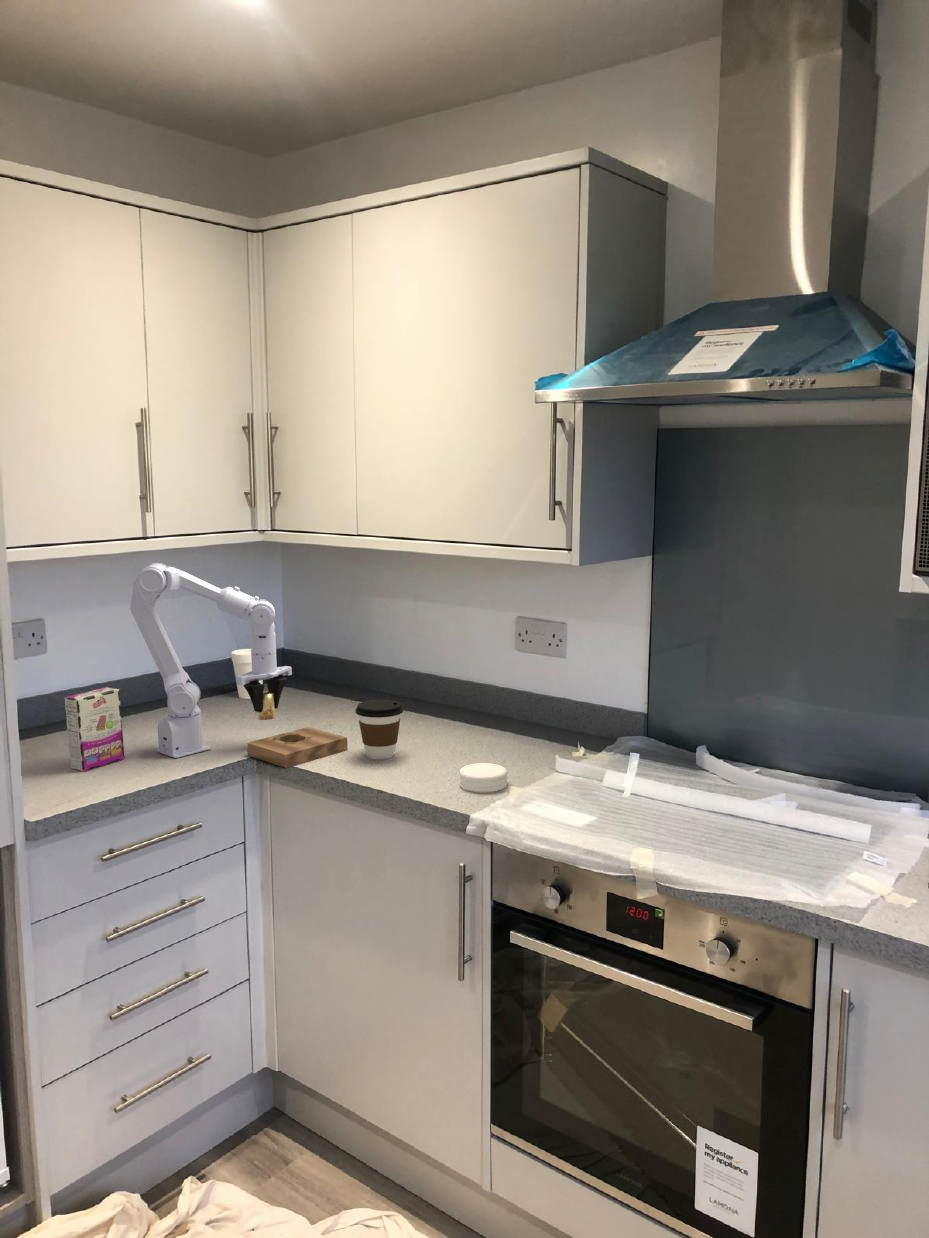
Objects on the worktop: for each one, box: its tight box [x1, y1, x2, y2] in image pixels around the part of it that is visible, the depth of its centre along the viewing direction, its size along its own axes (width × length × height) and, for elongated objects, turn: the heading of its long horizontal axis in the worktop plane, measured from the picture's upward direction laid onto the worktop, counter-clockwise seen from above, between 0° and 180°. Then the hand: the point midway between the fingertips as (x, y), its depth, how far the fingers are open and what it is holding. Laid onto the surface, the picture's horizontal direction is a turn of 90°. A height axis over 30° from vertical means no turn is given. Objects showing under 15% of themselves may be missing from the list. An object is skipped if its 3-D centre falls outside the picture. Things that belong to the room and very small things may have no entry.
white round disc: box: [458, 762, 508, 794], centre depth 202 cm, size 10×10×4 cm
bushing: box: [256, 690, 276, 721], centre depth 228 cm, size 4×4×6 cm
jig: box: [246, 726, 348, 769], centre depth 224 cm, size 18×14×3 cm
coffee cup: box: [354, 699, 404, 760], centre depth 221 cm, size 11×11×12 cm
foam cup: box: [231, 648, 264, 700], centre depth 278 cm, size 10×9×13 cm
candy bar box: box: [63, 686, 125, 773], centre depth 215 cm, size 11×5×16 cm, turn 148°
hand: (266, 709), depth 228 cm, fingers closed on bushing, 4 cm apart
